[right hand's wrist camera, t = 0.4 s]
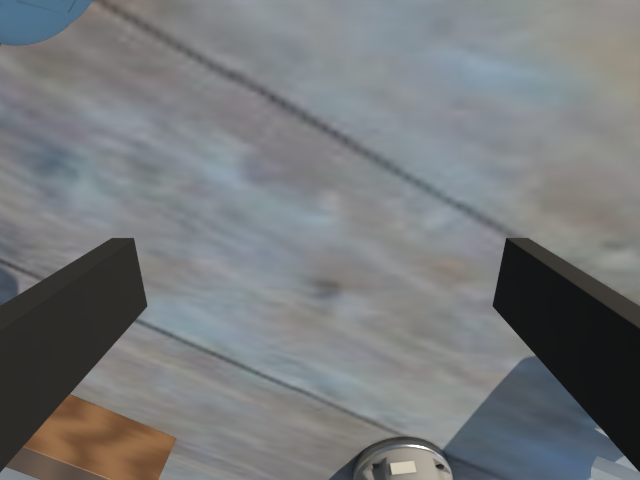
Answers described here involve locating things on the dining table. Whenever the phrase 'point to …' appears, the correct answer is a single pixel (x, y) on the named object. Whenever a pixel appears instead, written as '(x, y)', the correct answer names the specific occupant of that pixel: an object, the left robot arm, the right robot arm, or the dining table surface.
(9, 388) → the right robot arm
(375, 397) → the dining table surface
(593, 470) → the white plastic object
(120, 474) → the plank
